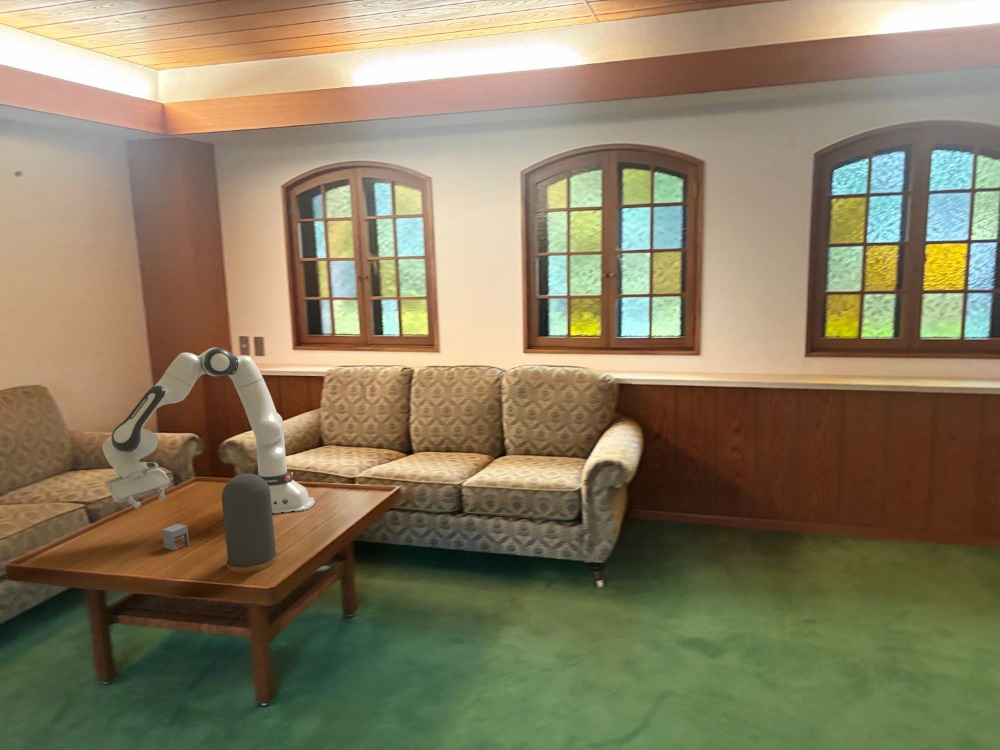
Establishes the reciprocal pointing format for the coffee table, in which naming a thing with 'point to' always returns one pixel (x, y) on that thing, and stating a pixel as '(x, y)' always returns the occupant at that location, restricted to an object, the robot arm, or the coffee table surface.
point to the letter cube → (179, 541)
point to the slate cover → (174, 535)
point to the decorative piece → (248, 524)
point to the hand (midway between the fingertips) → (151, 503)
